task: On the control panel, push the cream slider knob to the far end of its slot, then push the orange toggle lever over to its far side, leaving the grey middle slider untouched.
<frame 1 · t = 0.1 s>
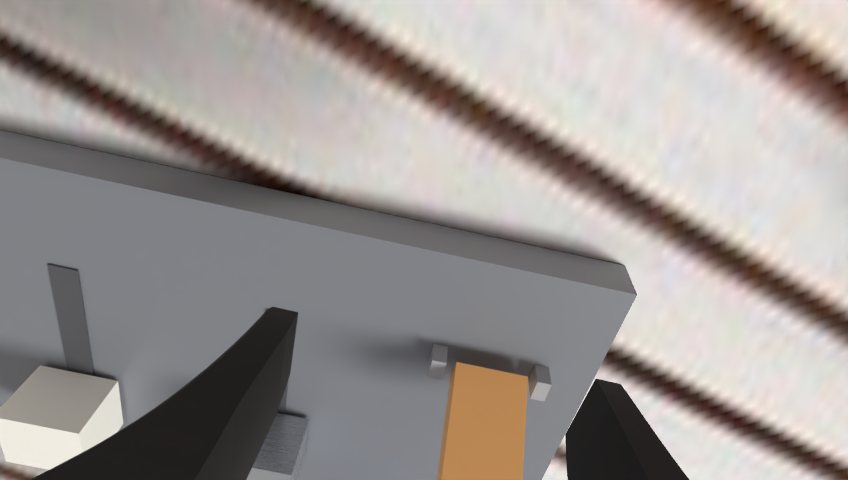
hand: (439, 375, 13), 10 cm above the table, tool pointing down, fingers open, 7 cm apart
cream slider: (63, 420, 25), point 4 cm above the table, slide at 0.0 cm
grey slider: (259, 458, 26), point 4 cm above the table, slide at 0.0 cm
control panel: (288, 341, 27), on the table
orange toggle: (483, 434, 22), point 5 cm above the table, hinge at -25.0°
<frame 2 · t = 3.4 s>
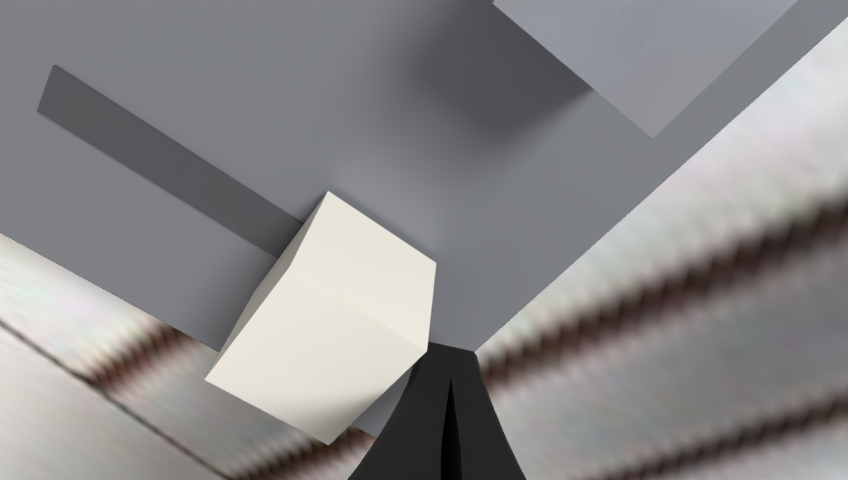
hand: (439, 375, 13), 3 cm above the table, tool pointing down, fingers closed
cream slider: (328, 317, 12), point 4 cm above the table, slide at 0.1 cm, touching gripper
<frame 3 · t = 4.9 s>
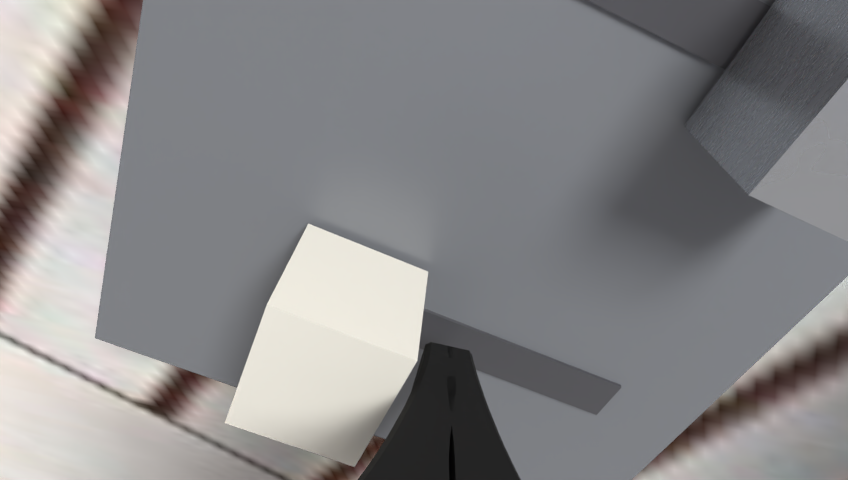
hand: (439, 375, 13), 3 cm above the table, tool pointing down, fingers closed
cream slider: (331, 343, 13), point 4 cm above the table, slide at 6.1 cm, touching gripper
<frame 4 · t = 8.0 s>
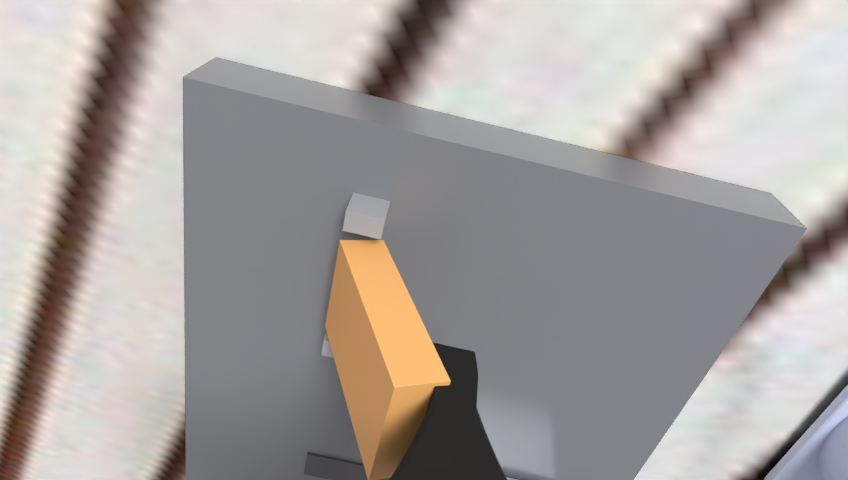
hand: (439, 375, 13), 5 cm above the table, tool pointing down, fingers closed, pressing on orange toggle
control panel: (403, 437, 22), on the table
orange toggle: (376, 348, 14), point 5 cm above the table, hinge at -23.9°, touching gripper
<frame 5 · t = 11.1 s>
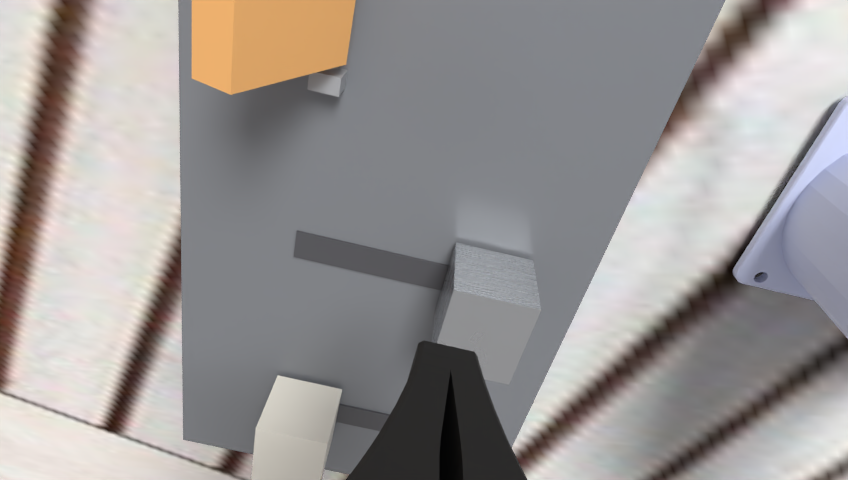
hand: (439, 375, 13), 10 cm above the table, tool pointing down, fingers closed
cream slider: (297, 434, 25), point 4 cm above the table, slide at 6.1 cm
grey slider: (482, 312, 21), point 4 cm above the table, slide at 0.0 cm
control panel: (389, 237, 24), on the table
orange toggle: (283, 13, 14), point 5 cm above the table, hinge at 21.6°
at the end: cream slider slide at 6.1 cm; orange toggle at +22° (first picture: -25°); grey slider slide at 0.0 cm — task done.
